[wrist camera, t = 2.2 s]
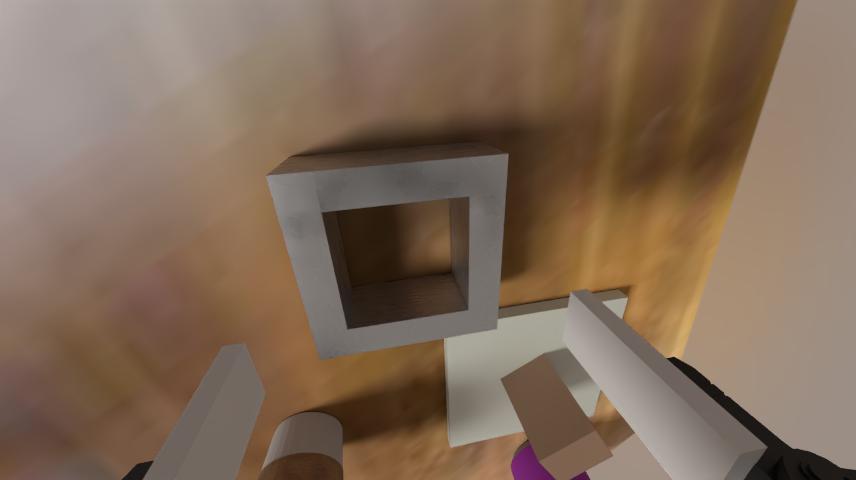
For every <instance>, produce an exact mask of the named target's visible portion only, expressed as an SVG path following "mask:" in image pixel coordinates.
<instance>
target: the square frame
mask: <svg viewBox="0 0 856 480" xmlns="http://www.w3.org/2000/svg"><path fill="white" fill-rule="evenodd" d="M508 155H509V154H508V153H506V152H504V151H501V150H499V149H497V148H494V147H492V146H490V145H487V144H485V143H483V142H480V141H474V142H462V143H450V144H438V145H426V146H414V147H402V148H390V149H378V150H366V151H355V152H343V153H331V154H319V155H307V156H295V157H288V158H287V159H286V160H285V161H283V162H282V163H281V164H280V165H278V166H277V167H276V168H275V169H274V170H272V171H271V172H270V173H269V174H267V175H266V178H267V181H268V185H269V188H270V192H271V195H272V198H273V202H274V205H275V209H276V212H277V215H278V219H279V222H280V226H281V229H282V232H283V236H284V239H285V243H286V246H287V249H288V253H289V256H290V260H291V263H292V266H293V270H294V273H295V277H296V280H297V283H298V287H299V290H300V294H301V297H302V300H303V304H304V307H305V311H306V314H307V317H308V321H309V324H310V328H311V331H312V334H313V338H314V341H315V345H316V348H317V351H318V355H319V358H320V360H321V359H327V358H333V357H339V356H345V355H350V354H356V353H362V352H368V351H374V350H379V349H385V348H391V347H397V346H403V345H408V344H414V343H420V342H426V341H432V340H437V339H443V338H449V337H455V336H461V335H466V334H472V333H478V332H484V331H490V330H495V329H497V324H498V309H499V294H500V278H501V263H502V248H503V232H504V217H505V201H506V186H507V171H508ZM449 198H450V241H451V273H446V274H439V275H432V276H425V277H418V278H411V279H404V280H397V281H390V282H383V283H376V284H369V285H362V286H355V287H351V284H350V279H349V274H348V269H347V264H346V259H345V254H344V249H343V244H342V239H341V234H340V229H339V224H338V219H337V214H336V211H338V210H348V209H357V208H366V207H375V206H384V205H394V204H403V203H412V202H421V201H430V200H440V199H449Z"/></svg>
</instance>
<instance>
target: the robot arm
mask: <svg viewBox="0 0 856 480" xmlns="http://www.w3.org/2000/svg"><path fill="white" fill-rule="evenodd" d="M562 341H563V343H564V344H565V345H566V346H567V348H568V349H569V350H570V351H571V353H572V354H573V355H574V356H575V358H576V359H577V360H578V361H579V363H580V364H581V365H582V366H583V368H584V369H585V370H586V371H587V373H588V374H589V375H590V377H591V378H592V379H593V380H594V382H595V383H596V384H597V385H598V387H599V388H600V389H601V390H602V392H603V393H604V394H605V395H606V397H607V398H608V399H609V400H610V402H611V403H612V404H613V405H614V407H615V408H616V409H617V410H618V412H619V413H620V414H621V415H622V417H623V418H624V419H625V421H626V422H627V423H628V424H629V426H630V427H631V428H632V429H633V431H634V432H635V433H636V434H637V436H638V437H639V438H640V439H641V441H642V442H643V443H644V444H645V446H646V447H647V448H648V449H649V451H650V452H651V453H652V454H653V455H654V457H655V458H656V459H657V461H658V462H659V463H660V464H661V466H662V467H663V468H664V469H665V471H666V472H667V473H668V475H669V476H670V477H671V478H672V480H856V470H851V469H844V468H840V467H838V466H837V465H835V464H833V463H832V462H830V461H829V460H827V459H825V458H823V457H821V456H818V455H816V454H814V453H812V452H809V451H804V450H800V449H793V448H791V447H789V446H788V445H787V444H786V443H784V442H783V441H781V440H780V439H779V438H778V437H777V436H775V435H774V434H773V433H772V432H771V431H769V430H768V429H767V428H766V427H765V426H763V425H762V424H761V423H760V422H759V421H757V420H756V419H755V418H754V417H753V416H751V415H750V414H749V413H748V412H747V411H745V410H744V409H743V408H742V407H740V406H739V405H738V404H737V403H736V402H734V401H733V400H732V399H731V398H730V397H728V396H725V395H724V392H722V391H721V390H720V389H718V387H716V386H715V385H714V384H711V383H710V381H709V380H708V379H707V378H705V377H704V376H703V375H702V374H701V373H699V372H698V371H697V370H696V369H695V368H693V367H691V366H690V365H688V364H686V363H684V362H682V361H681V360H679V359H677V358H675V357H671V358H665V357H664V356H663V355H662V354H661V353H659V352H658V351H657V350H656V349H655V348H654V347H653V346H651V345H650V344H649V343H648V342H647V341H646V340H645V339H643V338H642V337H641V336H640V335H639V334H638V333H637V332H635V331H634V330H633V329H632V328H631V327H630V326H629V325H627V324H626V323H625V322H624V321H623V320H622V319H621V318H619V317H618V316H617V315H616V314H615V313H614V312H613V311H611V310H610V309H609V308H608V307H607V306H606V305H605V304H603V303H602V302H601V301H600V300H599V299H598V298H597V297H595V296H594V295H593V294H592V293H591V292H590V291H588V290H587V289H585V290H578V291H572V292H570V298H569V303H568V309H567V315H566V320H565V326H564V331H563V337H562ZM265 395H266V393H265V390H264V388H263V386H262V383H261V381H260V378H259V376H258V374H257V371H256V369H255V366H254V364H253V362H252V359H251V357H250V354H249V352H248V350H247V347H246V345H245V343H241V344H235V345H228V346H223V347H222V348H221V350H220V352H219V353H218V355H217V357H216V358H215V360H214V362H213V363H212V365H211V367H210V368H209V370H208V372H207V373H206V375H205V377H204V378H203V380H202V382H201V383H200V385H199V387H198V388H197V390H196V392H195V393H194V395H193V397H192V398H191V400H190V402H189V403H188V405H187V407H186V408H185V410H184V412H183V413H182V415H181V417H180V418H179V420H178V422H177V423H176V425H175V427H174V428H173V430H172V432H171V433H170V435H169V437H168V438H167V440H166V442H165V443H164V445H163V447H162V448H161V450H160V452H159V453H158V455H157V457H156V458H155V460H154V461H149V462H144V463H139V464H137V465H136V466H135V467H134V468H133V469H132V470H131V471H130V472H129V473H128V474H127V475H126V476H125V477H124V478H123V479H122V480H235V479H236V476H237V474H238V471H239V468H240V465H241V462H242V459H243V457H244V454H245V451H246V448H247V445H248V443H249V440H250V437H251V434H252V431H253V429H254V426H255V423H256V420H257V417H258V414H259V412H260V409H261V406H262V403H263V400H264V398H265Z"/></svg>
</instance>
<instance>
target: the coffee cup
mask: <svg viewBox="0 0 856 480" xmlns="http://www.w3.org/2000/svg"><path fill="white" fill-rule="evenodd" d="M258 480H343V429H342V426H341V424H340V422H339V421H338V420H337V419H336V418H335V417H333V416H331V415H329V414H326V413H321V412H304V413H299V414H296V415H293V416H291V417H289V418H287V419H285V420H284V421H283V422H282V423H281V424H280V425H279V426H278V427H277V429H276V431H275V434H274V436H273V439H272V442H271V445H270V448H269V451H268V453H267V456H266V459H265V462H264V465H263V468H262V471H261V473H260V475H259V477H258Z"/></svg>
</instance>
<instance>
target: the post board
mask: <svg viewBox="0 0 856 480" xmlns="http://www.w3.org/2000/svg"><path fill="white" fill-rule="evenodd" d="M592 294H593V295H594V296H595V297H597V298H598V299H599V300H600V301H601V302H602V303H603V304H605V305H606V306H607V307H608V308H609V309H610V310H611V311H613V312H614V313H615V314H616V315H617V316H618V317H619V318H621V319H622V317H623V314H624V310H625V307H626V304H627V300H628V297H627V296H626V295H625V294H624V293H622V292H621V291H620V290H618V289H617V290H611V291H604V292H598V293H592ZM569 298H570V297H568V298H561V299H555V300H549V301H543V302H537V303H531V304H525V305H519V306H512V307H506V308H500V309H498V324H497V329H495V330H490V331H484V332H478V333H472V334H466V335H461V336H455V337H449V338H444V351H445V377H446V404H447V430H448V439H449V443H450V448H451V447H455V446H460V445H464V444H469V443H473V442H478V441H482V440H487V439H491V438H496V437H500V436H505V435H509V434H514V433H518V432H522V431H525V433H526V435H527V438H528V440H529V442H530V444H531V446H532V448H533V451H534V453H535V455H536V457H537V459H538V461H539V463H540V464H541V465H542V466H543V467H544V468H545V469H546V470H547V471H548V472H549V473H550V474H551V475H552V476H553V477H554V478H555V479H556V480H570V479H571V478H573V477H575V476H577V475H579V474H581V473H583V472H584V471H586V470H588V469H590V468H592V467H594V466H595V465H597V464H599V463H601V462H603V461H605V460H607V459H609V458H610V457H612V456H613V455H612V453H611V452H610V450H609V449H608V447H607V446H606V444H605V443H604V441H603V440H602V438H601V437H600V435H599V434H598V432H597V431H596V429H595V428H594V426H593V425H592V423H591V422H590V420H589V419H588V417H590V416H593V414H594V410H595V407H596V404H597V400H598V397H599V394H600V390H601V389H600V388H599V387H598V385H597V384H596V383H595V382H594V380H593V379H592V378H591V377H590V375H589V374H588V373H587V371H586V370H585V369H584V368H583V366H582V365H581V364H580V363H579V361H578V360H577V359H576V358H575V356H574V355H573V354H572V353H571V351H570V350H569V349H568V348H567V346H566V345H565V344H564V343H563V341H562V337H563V331H564V326H565V320H566V315H567V309H568V303H569Z"/></svg>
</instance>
